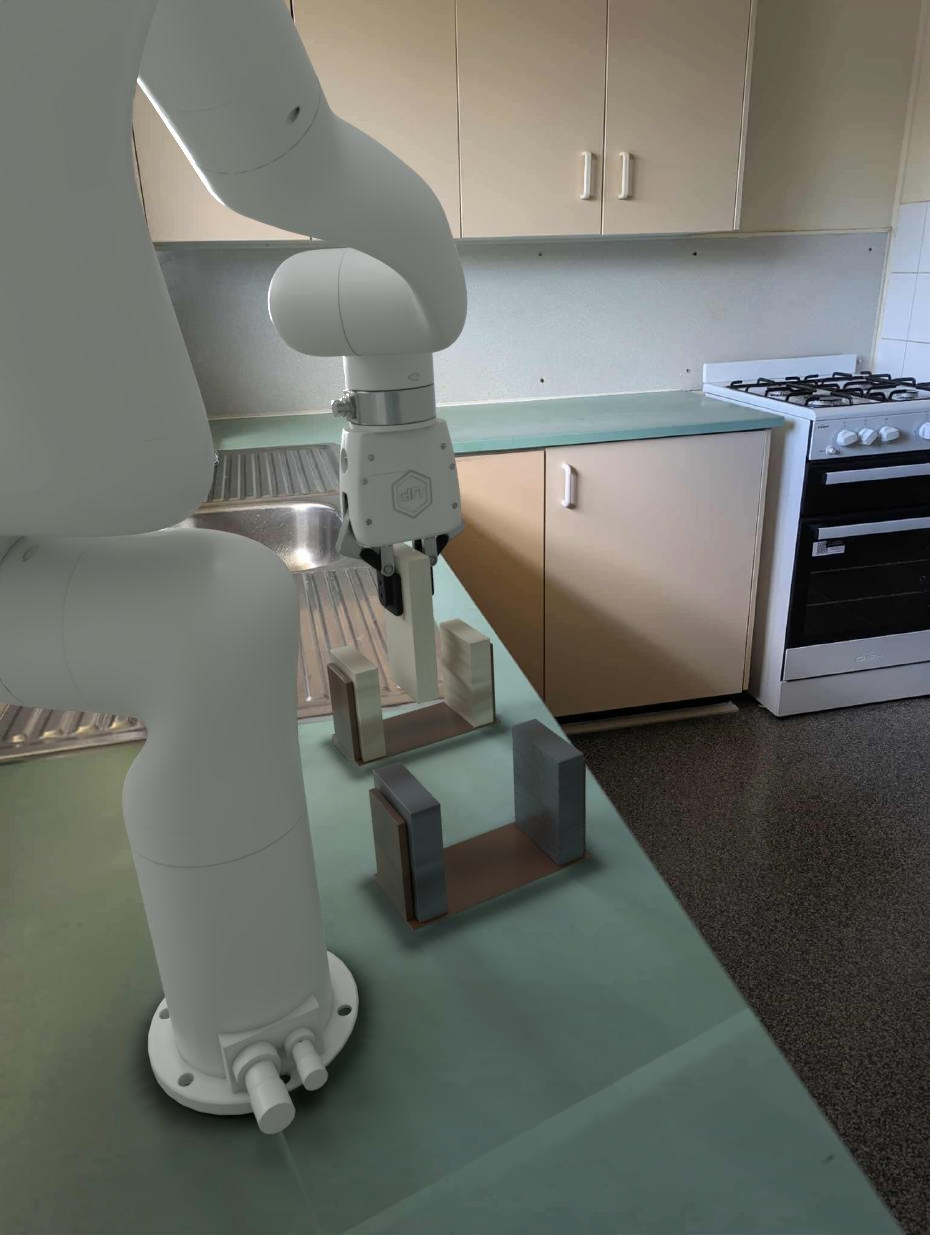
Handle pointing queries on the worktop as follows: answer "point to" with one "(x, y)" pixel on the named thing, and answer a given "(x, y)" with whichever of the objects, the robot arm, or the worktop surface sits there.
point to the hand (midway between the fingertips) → (407, 606)
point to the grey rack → (494, 860)
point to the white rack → (459, 713)
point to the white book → (413, 628)
